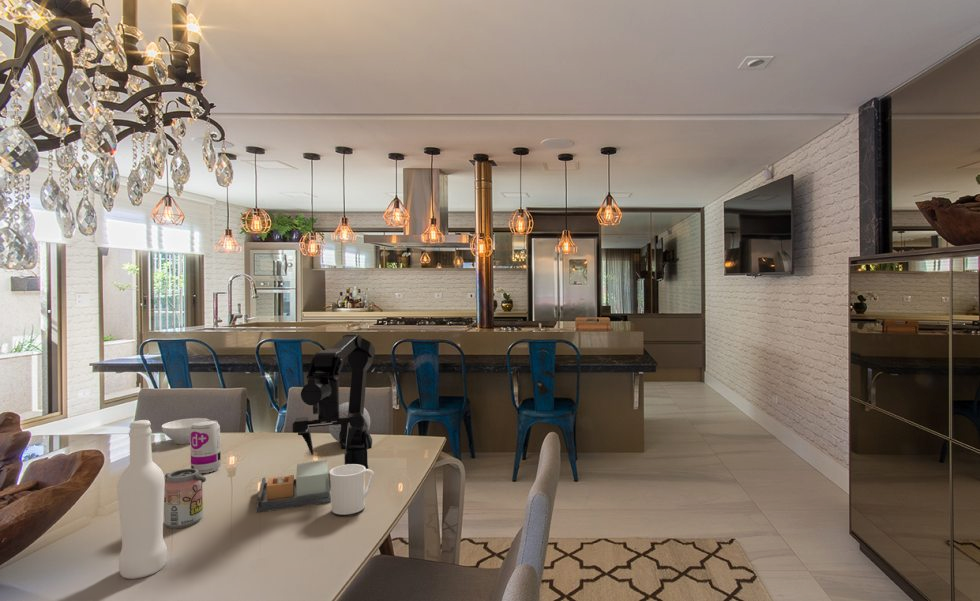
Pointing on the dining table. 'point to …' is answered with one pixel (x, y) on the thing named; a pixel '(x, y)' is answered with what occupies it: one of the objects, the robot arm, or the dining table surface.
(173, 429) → the bowl
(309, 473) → the housing cover
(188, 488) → the pink grey lidded container
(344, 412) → the decorative ball
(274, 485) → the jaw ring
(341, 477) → the mug
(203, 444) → the supplement can
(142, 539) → the bottle
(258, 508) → the housing base
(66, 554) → the dining table surface
